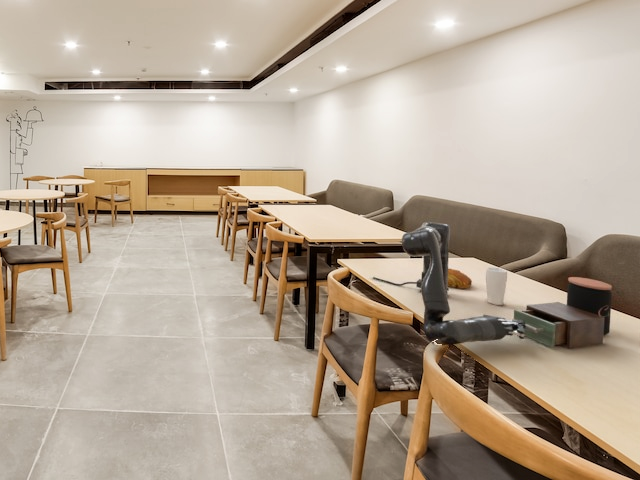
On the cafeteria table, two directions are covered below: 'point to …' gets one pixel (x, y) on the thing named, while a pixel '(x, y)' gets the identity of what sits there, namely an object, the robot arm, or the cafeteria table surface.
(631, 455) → the cafeteria table surface
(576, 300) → the coffee jar
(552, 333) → the drawer
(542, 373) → the cafeteria table surface
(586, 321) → the cabinet
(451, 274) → the croissant
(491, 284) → the white cup
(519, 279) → the cafeteria table surface
